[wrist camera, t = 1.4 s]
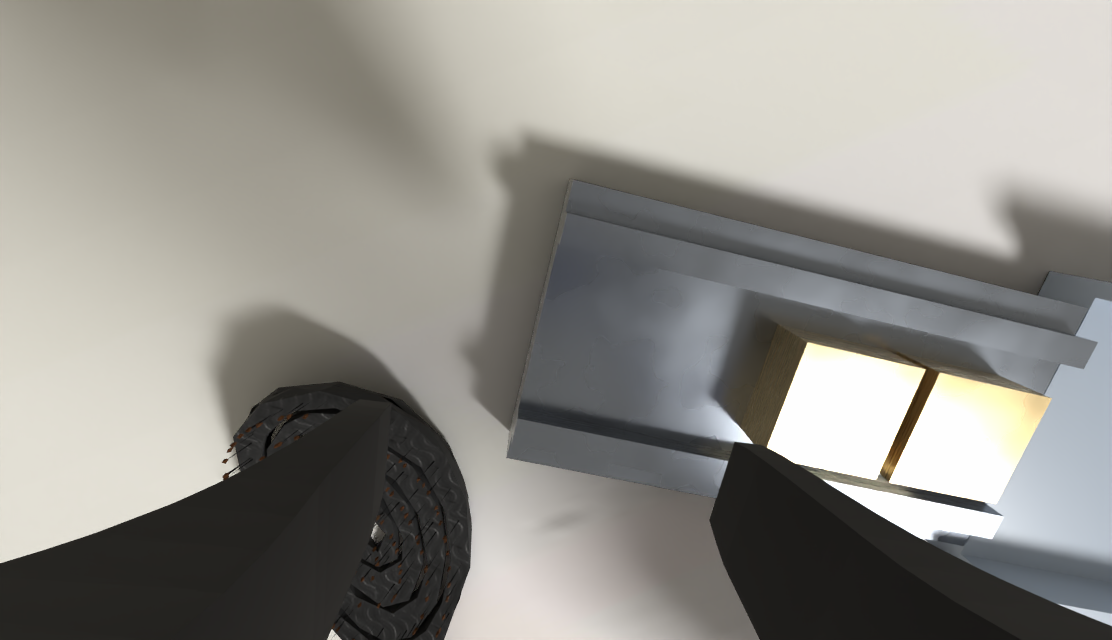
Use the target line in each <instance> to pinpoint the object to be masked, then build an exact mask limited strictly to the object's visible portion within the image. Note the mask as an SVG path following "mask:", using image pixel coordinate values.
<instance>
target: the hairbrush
mask: <svg viewBox="0 0 1112 640" xmlns="http://www.w3.org/2000/svg"><path fill="white" fill-rule="evenodd" d="M359 399H362V400H370V401H379V402H388V403H392V404H391V415H390V427H389V439H388V450H387V462H386V473H385V485H384V493H383V496H382V500H381V503H380V507H379V510H378V514H377V517H376V521H375V522H376V524H378V526H379V527H380V528H381V529H382V530H383V531H384V533H385V534H386V535H385V537H384V539H383V541H382V540H381V541H380V542H379V543H377V544H376V543H375V542H374V541H373V540H372V538H371V537H370V540H369V542H368V544H367V547H366V549H365V552H364V554H363V556H362V559H361V561H360V563H359V566H358V568H357V571H356V573H355V575H354V578H353V580H352V582H351V585H350V587H349V589H348V592H347V594H346V596H345V599H344V601H343V603H342V606H341V608H340V610H339V613H338V615H337V617H336V620H335V622H334V624H333V627H332V629H333V630H334V632H335V633H336V634H337V635H338V636H339V637H340V638H341V639H342V640H444V638H445V635H446V632H447V630H448V627H449V624H450V621H451V619H452V616H453V613H454V610H455V608H456V606H457V604H458V601H459V599H460V595H461V591H462V588H463V585H464V583H465V580H466V577H467V574H468V572H469V569H470V558H471V533H472V525H471V515H470V509H469V503H468V499H469V497H467V496H468V494H467V490H466V486H465V482H464V479H463V476H462V474H461V471H460V469H459V467H458V464H457V462H456V460H455V458H454V455H453V453H452V451H451V448H450V446H449V444H448V443H447V442H446V441H445V440H444V439H443V438H442V437H440V436H439V435H438V434H437V433H436V432H435V431H434V430H433V429H432V428H431V427H430V426H429V425H428V424H427V423H426V422H425V421H423V420H422V419H421V418H420V417H419V416H418V415H417V414H416V413H415V412H414V411H413V410H412V409H411V408H410V407H409V406H408V405H406V404H405V403H404V402H403V401H402V400H400V399H396V398H393V397H389V396H386V395H383V394H379V393H376V392H372V391H369V390H365V389H362V388H359V387H355V386H352V385H348V384H345V383H341V382H333V383H323V384H312V385H302V386H292V387H281V388H278V389H276V390H275V391H274V392H272V393H271V394H270V395H268V396H267V397H266V398H265V399H263V400H262V401H261V402H259V403H258V404H257V405H255V406H254V407H253V408H252V409H251V412H250V414H249V416H248V419H247V420H246V421H245V422H244V424H243V425H242V426H241V427H240V429H239V430H238V431H237V433H236V434H235V435H234V437H233V438H234V443H232V444H231V445H230V446H231V447H232V448H230V449H228V451H227V452H231V451H232V449H233V447H234V446H235V447H236V452H237V453H236V454H237V457H238V461H239V466H240V468H239V469H240V471H243V470H245V469H247V468H249V467H250V466H252V465H254V464H256V463H257V462H259V461H261V460H263V459H265V458H266V457H268V456H270V455H272V454H273V453H275V452H277V451H279V450H280V449H282V448H284V447H286V446H288V445H289V444H291V443H293V442H294V441H296V440H297V439H298V438H300V436H301V435H304V434H307V433H308V432H310V431H312V430H313V429H315V428H316V427H318V426H319V425H321V424H323V423H324V422H326V421H327V420H329V419H330V418H332V417H333V416H335V415H336V414H338V413H339V412H341V411H342V410H344V409H345V408H347V407H348V406H350V405H351V404H353V403H354V402H356V401H358V400H359ZM294 411H296V412H294ZM292 412H294V413H293V414H291V413H292ZM286 418H287V422H285V423H284V425H283V426H282V428H281V429H280V431H279V432H278V434H277V435H276V437H275V438H274V440H273V441H272V443H271V436H272V434H273V432H274V430H275V428H276V426H277V425H279V424H280V423H281V422H282V421H283V420H284V419H286ZM234 455H235V454H234ZM234 455H233V456H234ZM231 457H232V456H231ZM231 457H230V458H231ZM227 461H228V459H224V460H223V462H222V463H225V464H226V462H227ZM239 466H237V467H236V468H234V469H233V470H231V471H230V472H228V473H225V474H224V475H223V478H224V479H223V480H225V479H227V478H229V476H228V475H229V474H230V473H231V472H233V471H234V470H235V469H237V468H238V467H239ZM239 469H238V470H239ZM236 471H237V470H236ZM236 471H235V472H236ZM232 474H233V473H232ZM440 503H441V505H442V507H443V509H444V511H445V515H446V523H447V532H448V540H449V550H450V557H451V560H450V566H449V567H448V570H447V572H448V576H447V581H446V585H445V588H444V591H443V594H442V596H441V597H440V599H439V600H438V596H439V591H440V587H441V582H442V578H443V572H444V565H445V559H446V555H448V554H449V551H447V552H446V542H447V538H446V536H447V535H446V533H445V523H444V514H443V511H442V508H441V505H440ZM416 512H417V514H418V515H419V519H420V524H421V530H420V526H419V522H418V518H417V514H416ZM376 524H375V525H376ZM399 531H400V533H401V536H402V538H403V542H402V543H401V544H400V546H399ZM421 531H422V534H421ZM422 535H423V536H422ZM422 537H423V540H424V546H425V551H426V556H427V562H428V565H426V566H425V568H424V573H425V576H424V578H423V580H422V582H421V584H420V586H419V587H418V589H417V591H416V590H415V591H416V592H415V591H414V592H415V593H414V592H413V590H414V588H415V585H416V583H417V581H418V578H419V575H420V572H421V569H422V566H423V562H424V554H423V552H424V551H423V550H424V549H423V541H422ZM402 544H403V551H402V552H401V553H400V554H399V556H398V553H399V548H400V547H401V545H402ZM394 560H395V561H394ZM392 561H394V562H392ZM389 562H392V563H389ZM427 566H428V567H427ZM412 592H413V593H412ZM437 600H438V602H437ZM431 610H432V611H431ZM430 611H431V612H430ZM429 613H430V614H429ZM334 636H335V635H334Z"/></svg>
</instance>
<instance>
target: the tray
mask: <svg viewBox="0 0 1112 640" xmlns="http://www.w3.org/2000/svg"><path fill="white" fill-rule="evenodd" d="M1038 296H1041V297H1045V298H1049V299H1053V300H1057V301H1061V302H1065V303H1069V304H1073V305H1077V306H1081V307H1085V308H1089V309H1088V311H1087V312H1086V314H1085V316H1084V318H1083V320H1082V322H1081V324H1080V326H1079V328H1078V330H1077V332H1076V333H1075V335H1076V336H1079V337H1082V338H1086V339H1089V340H1092V341H1096V342H1098V344H1097V346H1096V348H1095V349H1094V351H1093V353H1092V355H1091V357H1090V359H1089V360H1088V362H1087V364H1086V366H1085V368H1084V369H1080V368H1076V367H1072V366H1068V365H1063V364H1059V366H1058V368H1057V370H1056V371H1055V373H1054V375H1053V377H1052V379H1051V381H1050V383H1049V385H1048V387H1047V389H1046V390H1045V392H1044V394H1043V395H1045V396H1048V397H1050V398H1052V400H1051V401H1050V403H1049V405H1048V407H1047V409H1046V411H1045V413H1044V415H1043V417H1042V418H1041V420H1040V422H1039V424H1038V426H1037V428H1036V430H1035V432H1034V433H1033V435H1032V437H1031V439H1030V441H1029V443H1028V445H1027V447H1026V448H1025V450H1024V452H1023V454H1022V456H1021V458H1020V460H1019V462H1018V464H1017V465H1016V467H1015V469H1014V471H1013V473H1012V475H1011V477H1010V479H1009V480H1008V482H1007V484H1006V486H1005V488H1004V490H1003V492H1002V494H1001V495H1000V497H999V499H998V501H997V503H996V504H994V503H989V502H987V503H986V504H987V505H989V506H990V507H991V508H993V509H994V510H996V511H997V512H998V513H1000V514H1001V515H1002V516H1004V518H1003V520H1002V521H1001V523H1000V525H999V527H998V529H997V531H996V532H995V534H994V536H993V538H992V539H989V538H984V537H979V536H974V535H969V537H968V539H967V541H966V543H965V544H964V546H960V545H955V544H949V543H944V542H939V541H934V540H929V539H925V540H926V541H928V542H929V543H930V544H932V545H934V546H936V547H938V548H939V549H941V550H943V551H945V552H947V553H949V554H951V555H953V556H955V557H957V558H959V559H961V560H963V561H965V562H967V563H969V564H971V565H973V566H975V567H977V568H979V569H981V570H983V571H985V572H987V573H989V574H992V575H994V576H996V577H998V578H1000V579H1002V580H1004V581H1006V582H1009V583H1011V584H1013V585H1015V586H1018V587H1020V588H1022V589H1024V590H1027V591H1029V592H1031V593H1034V594H1036V595H1038V596H1040V597H1043V598H1045V599H1047V600H1049V601H1052V602H1054V603H1056V604H1059V605H1061V606H1063V607H1066V608H1068V609H1071V610H1073V611H1075V612H1078V613H1080V614H1083V615H1085V616H1088V617H1090V618H1093V619H1095V620H1098V621H1100V622H1103V623H1105V624H1108V625H1110V626H1112V283H1111V282H1106V281H1100V280H1095V279H1089V278H1084V277H1079V276H1073V275H1068V274H1063V273H1057V272H1052V271H1050V272H1049V274H1048V276H1047V278H1046V280H1045V282H1044V284H1043V286H1042V288H1041V290H1040V292H1039V294H1038Z"/></svg>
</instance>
